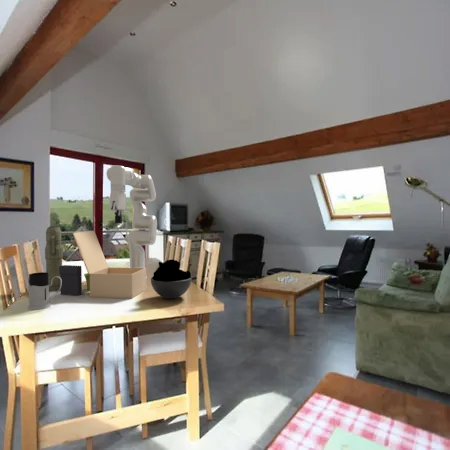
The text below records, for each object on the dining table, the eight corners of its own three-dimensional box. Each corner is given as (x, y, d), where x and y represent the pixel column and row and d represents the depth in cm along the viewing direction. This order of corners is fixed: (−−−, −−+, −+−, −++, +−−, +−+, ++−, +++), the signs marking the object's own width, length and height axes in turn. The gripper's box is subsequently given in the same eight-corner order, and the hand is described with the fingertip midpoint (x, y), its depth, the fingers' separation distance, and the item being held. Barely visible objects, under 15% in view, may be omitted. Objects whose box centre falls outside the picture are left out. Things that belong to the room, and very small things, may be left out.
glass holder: (34, 304, 147) (33, 272, 146) (66, 304, 148) (65, 271, 147) (23, 310, 138) (23, 275, 138) (57, 309, 139) (57, 275, 139)
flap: (108, 267, 180) (95, 272, 180) (94, 230, 180) (80, 236, 181) (89, 273, 159) (74, 279, 160) (73, 232, 160) (58, 238, 160)
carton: (108, 288, 180) (108, 267, 179) (146, 289, 177) (146, 267, 177) (89, 297, 160) (89, 273, 159) (132, 298, 157) (132, 274, 157)
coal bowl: (186, 291, 171) (186, 257, 171) (196, 300, 153) (196, 261, 152) (148, 295, 164) (147, 258, 164) (154, 305, 146) (153, 264, 145)
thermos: (45, 292, 170) (44, 227, 169) (45, 288, 180) (44, 226, 180) (64, 290, 175) (63, 226, 174) (62, 286, 185) (61, 226, 184)
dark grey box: (83, 294, 167) (82, 265, 166) (77, 296, 162) (76, 266, 162) (65, 292, 170) (65, 264, 169) (59, 294, 165) (58, 266, 165)
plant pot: (80, 290, 175) (80, 274, 175) (91, 286, 184) (91, 271, 184) (95, 291, 173) (95, 275, 173) (105, 287, 182) (105, 272, 182)
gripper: (117, 190, 179) (118, 222, 179) (104, 187, 164) (105, 223, 165) (130, 189, 178) (130, 222, 179) (118, 187, 163) (118, 223, 164)
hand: (118, 223), depth 172 cm, fingers closed
